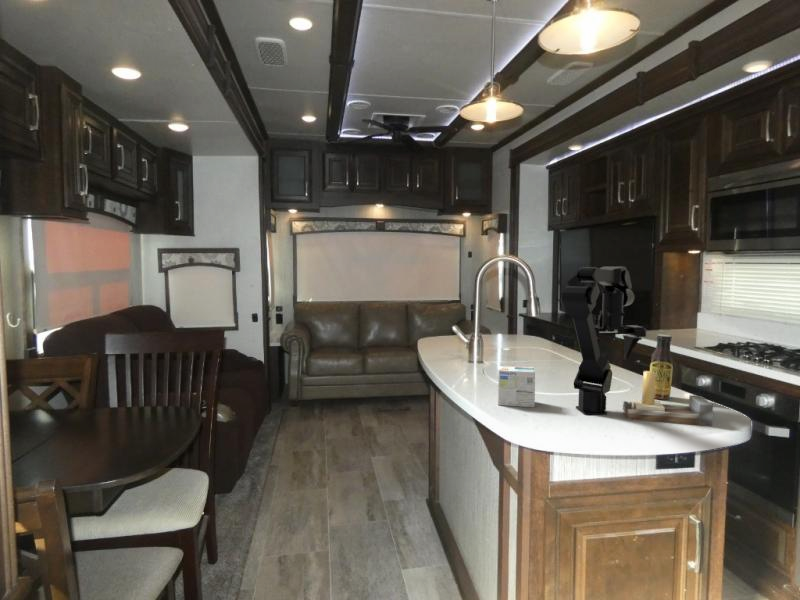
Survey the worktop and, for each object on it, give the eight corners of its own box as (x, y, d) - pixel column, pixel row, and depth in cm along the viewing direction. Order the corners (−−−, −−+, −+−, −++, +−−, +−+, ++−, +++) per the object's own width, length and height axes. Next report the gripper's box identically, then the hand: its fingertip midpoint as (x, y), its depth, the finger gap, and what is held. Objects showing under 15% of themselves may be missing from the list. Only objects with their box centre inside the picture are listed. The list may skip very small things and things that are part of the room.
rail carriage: (636, 411, 133) (637, 373, 132) (631, 405, 139) (633, 369, 138) (664, 414, 131) (666, 375, 130) (659, 407, 137) (660, 370, 136)
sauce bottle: (647, 398, 152) (650, 335, 150) (648, 393, 157) (650, 332, 156) (671, 401, 149) (674, 337, 147) (671, 396, 154) (674, 334, 153)
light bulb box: (533, 401, 149) (534, 366, 148) (535, 408, 142) (536, 371, 141) (498, 399, 151) (498, 365, 150) (497, 405, 145) (498, 369, 144)
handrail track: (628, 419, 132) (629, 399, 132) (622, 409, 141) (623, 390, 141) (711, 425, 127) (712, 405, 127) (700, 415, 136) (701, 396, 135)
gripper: (628, 305, 155) (626, 354, 157) (571, 305, 154) (569, 354, 155) (648, 309, 144) (646, 361, 145) (587, 309, 143) (585, 362, 144)
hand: (610, 359), depth 148 cm, fingers open, 9 cm apart
